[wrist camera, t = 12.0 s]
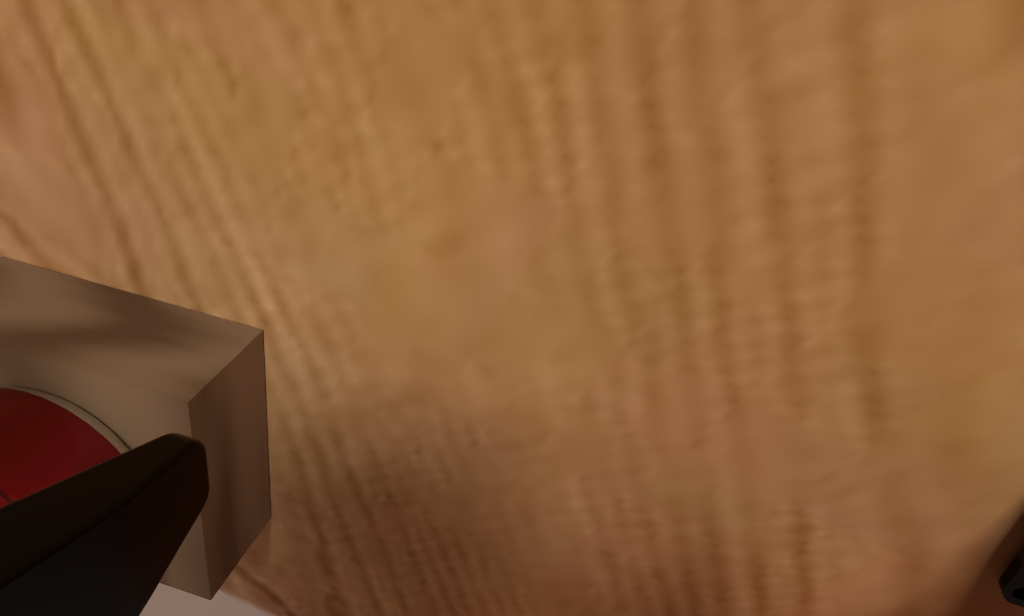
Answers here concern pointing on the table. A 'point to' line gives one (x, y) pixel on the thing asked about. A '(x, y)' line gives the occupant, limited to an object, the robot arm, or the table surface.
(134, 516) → the robot arm
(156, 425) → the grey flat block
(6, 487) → the soda can
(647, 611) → the table surface
